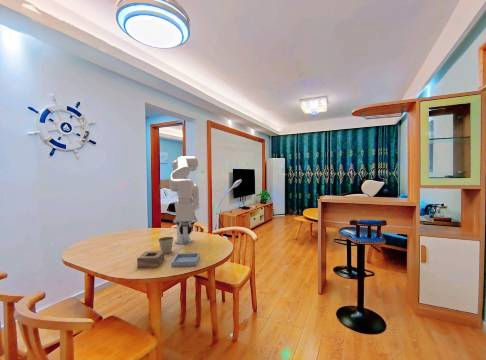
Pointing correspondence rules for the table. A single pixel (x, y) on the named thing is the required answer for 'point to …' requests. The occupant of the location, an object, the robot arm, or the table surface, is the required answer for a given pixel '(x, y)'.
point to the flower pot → (166, 244)
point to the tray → (185, 259)
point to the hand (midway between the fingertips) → (185, 233)
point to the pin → (185, 233)
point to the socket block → (150, 259)
